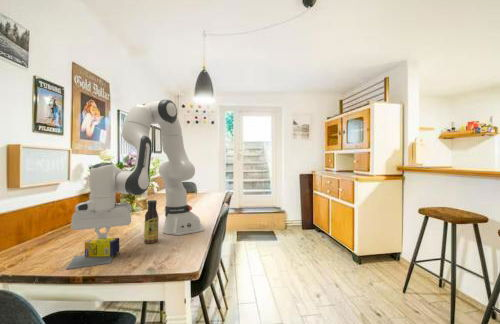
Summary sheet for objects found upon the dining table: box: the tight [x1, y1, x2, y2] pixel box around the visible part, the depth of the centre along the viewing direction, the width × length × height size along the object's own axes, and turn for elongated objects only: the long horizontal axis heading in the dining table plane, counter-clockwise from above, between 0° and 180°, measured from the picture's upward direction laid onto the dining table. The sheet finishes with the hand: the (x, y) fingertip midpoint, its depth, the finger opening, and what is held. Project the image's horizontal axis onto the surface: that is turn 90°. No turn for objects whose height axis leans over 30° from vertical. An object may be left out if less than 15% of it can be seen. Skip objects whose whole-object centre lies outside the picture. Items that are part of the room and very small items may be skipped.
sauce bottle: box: [143, 199, 159, 244], centre depth 115 cm, size 7×6×20 cm
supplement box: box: [84, 237, 120, 257], centre depth 99 cm, size 6×6×11 cm
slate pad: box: [65, 254, 115, 271], centre depth 94 cm, size 14×12×1 cm
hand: (102, 238), depth 95 cm, fingers closed
